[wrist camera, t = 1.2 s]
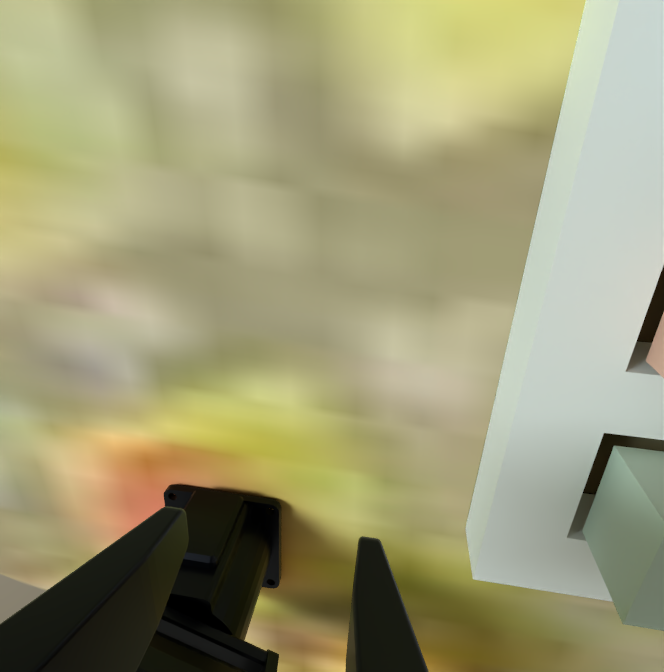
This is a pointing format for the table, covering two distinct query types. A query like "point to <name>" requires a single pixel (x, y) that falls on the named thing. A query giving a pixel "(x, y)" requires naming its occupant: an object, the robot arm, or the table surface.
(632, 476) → the button sage
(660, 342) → the button terracotta
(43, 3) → the table surface
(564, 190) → the panel
